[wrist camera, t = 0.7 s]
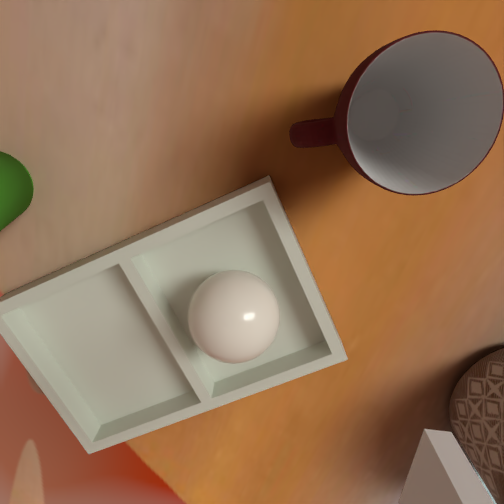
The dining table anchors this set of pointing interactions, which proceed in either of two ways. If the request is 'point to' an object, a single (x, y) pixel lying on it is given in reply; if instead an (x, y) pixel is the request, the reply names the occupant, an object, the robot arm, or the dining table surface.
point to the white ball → (233, 316)
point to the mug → (415, 113)
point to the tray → (166, 320)
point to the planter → (482, 419)
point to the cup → (13, 189)
